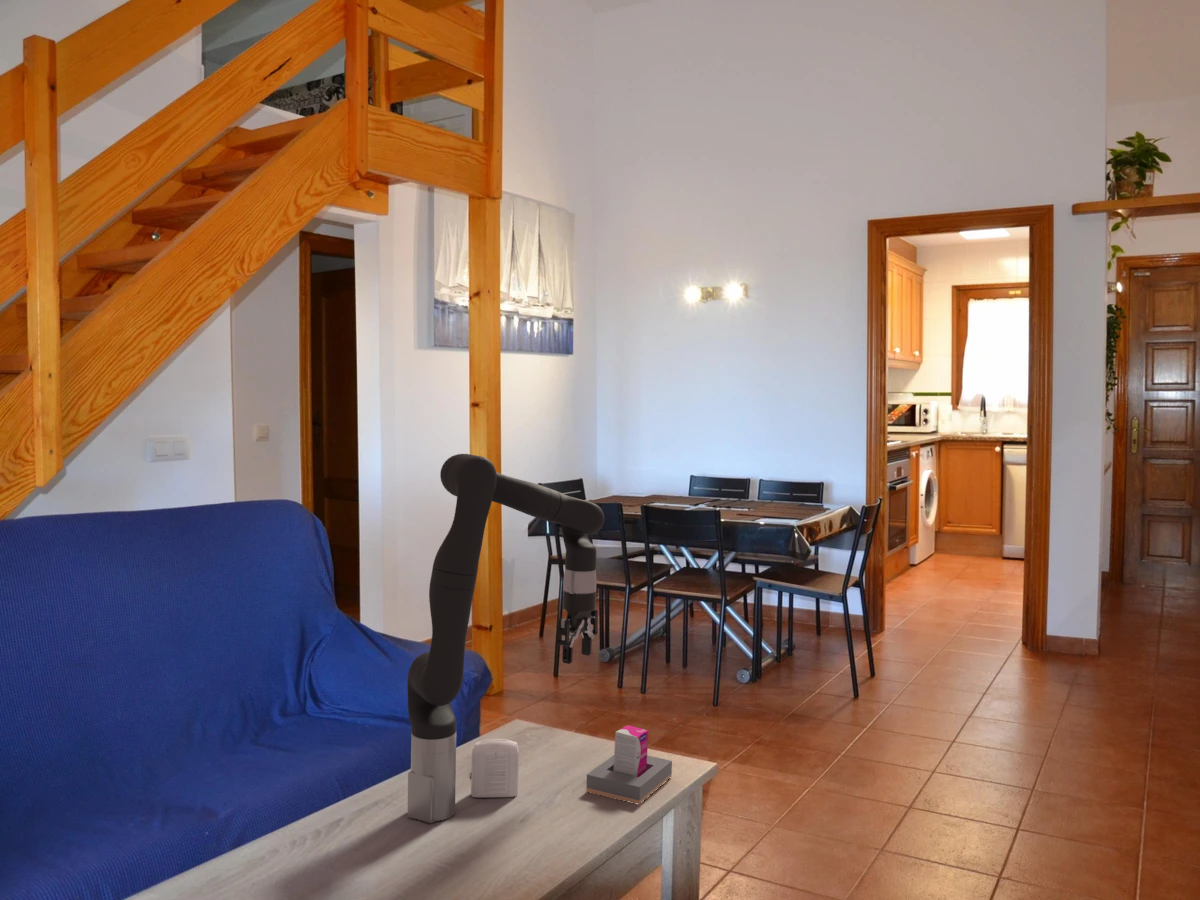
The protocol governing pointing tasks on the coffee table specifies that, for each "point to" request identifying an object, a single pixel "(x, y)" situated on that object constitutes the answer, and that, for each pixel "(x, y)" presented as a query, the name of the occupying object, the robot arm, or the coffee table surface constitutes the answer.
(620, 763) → the supplement box
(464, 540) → the robot arm
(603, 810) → the coffee table surface
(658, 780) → the plate
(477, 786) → the photo printer
